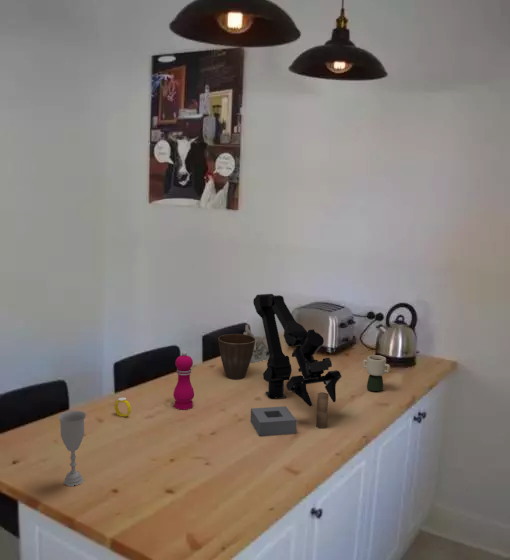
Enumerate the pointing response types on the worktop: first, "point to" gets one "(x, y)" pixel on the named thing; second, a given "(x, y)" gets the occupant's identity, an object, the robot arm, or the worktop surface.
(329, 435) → the worktop surface
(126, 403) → the yellow ring
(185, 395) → the pepper mill
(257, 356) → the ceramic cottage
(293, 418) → the socket block
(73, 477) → the chalice
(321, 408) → the walnut pin
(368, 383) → the cream and green vessel
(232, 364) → the plant pot
